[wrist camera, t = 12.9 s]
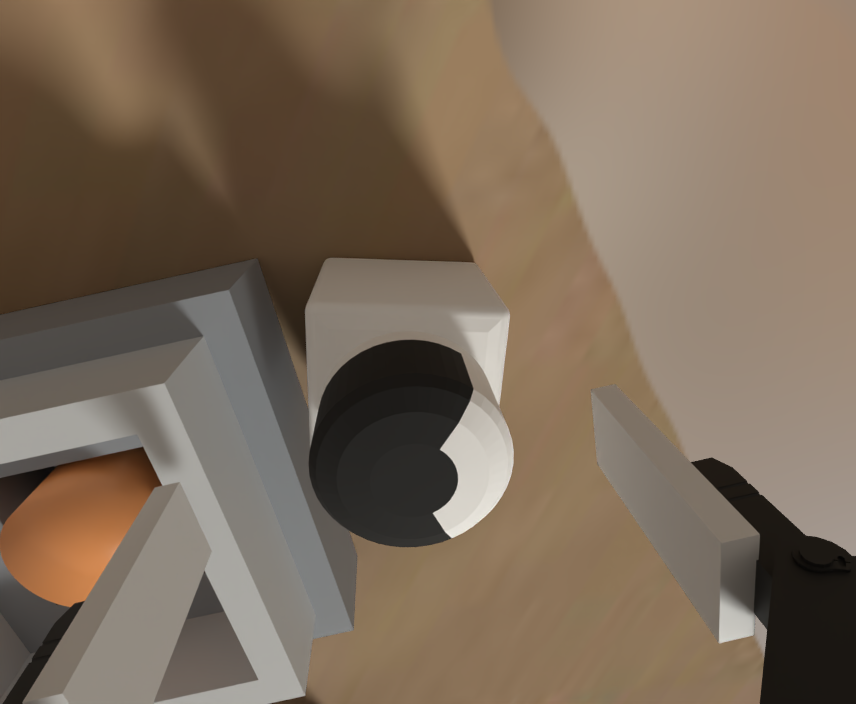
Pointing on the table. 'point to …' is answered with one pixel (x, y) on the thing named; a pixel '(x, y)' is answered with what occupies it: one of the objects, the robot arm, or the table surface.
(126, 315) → the grey open box
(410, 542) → the medicine bottle
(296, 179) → the table surface
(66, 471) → the button
